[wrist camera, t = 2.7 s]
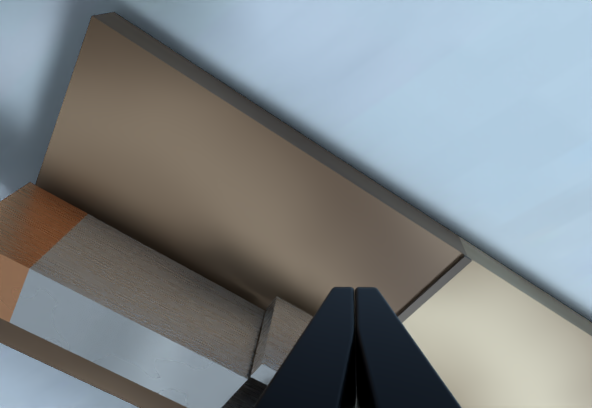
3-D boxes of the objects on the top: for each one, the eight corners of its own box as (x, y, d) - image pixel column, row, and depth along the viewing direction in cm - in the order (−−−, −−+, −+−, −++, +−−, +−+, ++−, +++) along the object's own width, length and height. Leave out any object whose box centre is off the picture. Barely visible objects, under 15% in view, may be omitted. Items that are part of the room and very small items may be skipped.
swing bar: (371, 349, 15) (376, 423, 13) (308, 404, 17) (302, 478, 15) (36, 162, 13) (-40, 208, 10) (7, 251, 15) (-62, 308, 12)
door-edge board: (418, 514, 23) (436, 653, 19) (5, 315, 19) (-111, 431, 14) (673, 375, 16) (806, 541, 12) (113, 12, 12) (-40, 38, 7)
